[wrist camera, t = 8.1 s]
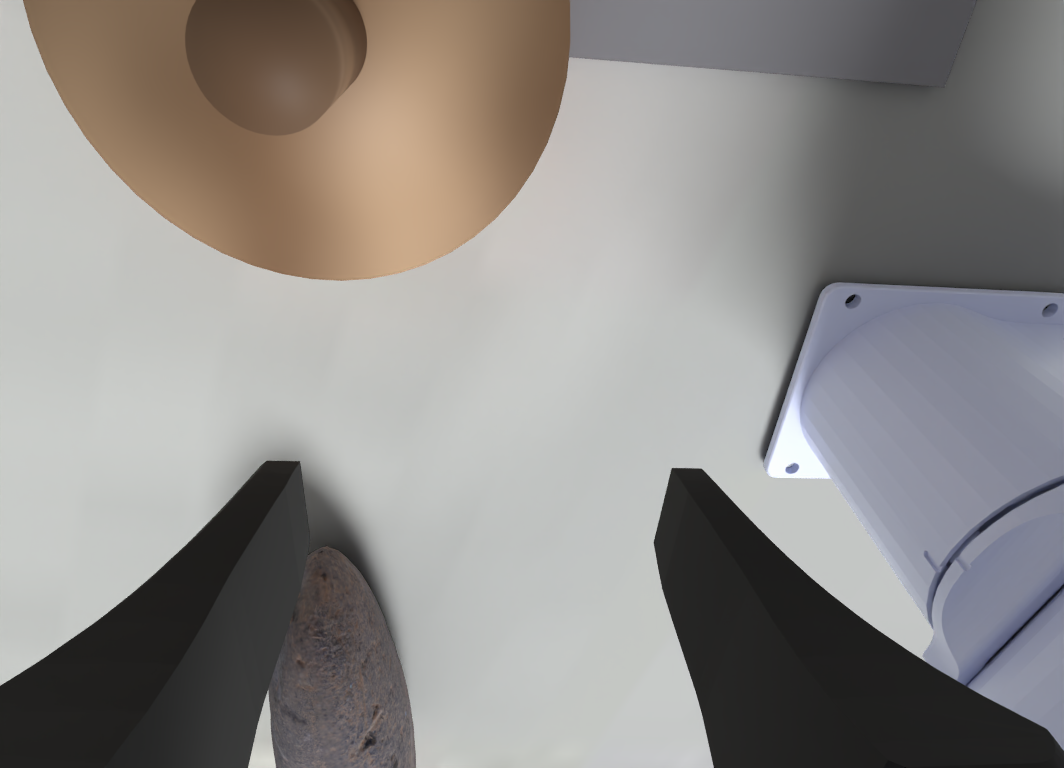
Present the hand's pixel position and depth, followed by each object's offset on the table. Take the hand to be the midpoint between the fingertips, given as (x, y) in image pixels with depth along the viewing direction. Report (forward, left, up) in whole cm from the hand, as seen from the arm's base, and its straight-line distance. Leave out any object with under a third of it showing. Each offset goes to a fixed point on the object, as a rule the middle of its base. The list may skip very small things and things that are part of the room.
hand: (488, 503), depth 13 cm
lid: (+4, -7, -7) cm, 11 cm away
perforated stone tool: (+5, +17, -10) cm, 20 cm away
